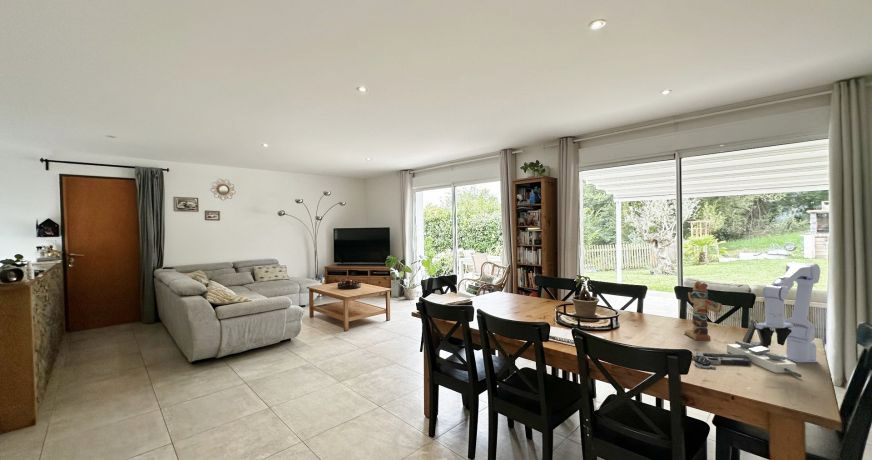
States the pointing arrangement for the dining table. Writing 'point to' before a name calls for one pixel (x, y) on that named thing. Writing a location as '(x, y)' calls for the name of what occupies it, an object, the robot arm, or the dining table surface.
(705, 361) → the firearm
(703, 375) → the dining table surface
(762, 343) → the dark grey a-frame stand
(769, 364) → the power strip
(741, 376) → the dining table surface
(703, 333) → the totem pole
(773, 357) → the rocker
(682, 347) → the dining table surface
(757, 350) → the rocker
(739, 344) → the rocker
